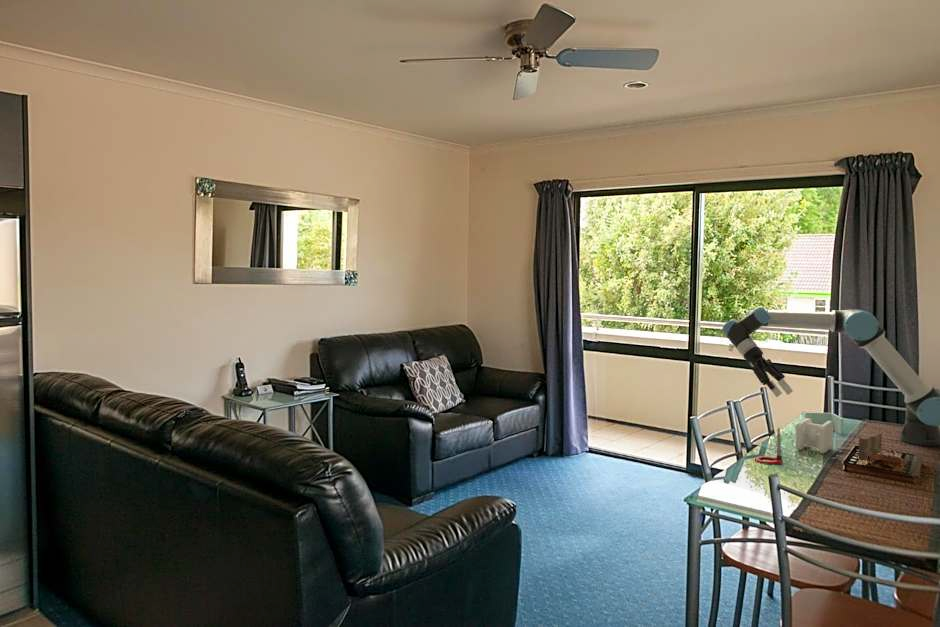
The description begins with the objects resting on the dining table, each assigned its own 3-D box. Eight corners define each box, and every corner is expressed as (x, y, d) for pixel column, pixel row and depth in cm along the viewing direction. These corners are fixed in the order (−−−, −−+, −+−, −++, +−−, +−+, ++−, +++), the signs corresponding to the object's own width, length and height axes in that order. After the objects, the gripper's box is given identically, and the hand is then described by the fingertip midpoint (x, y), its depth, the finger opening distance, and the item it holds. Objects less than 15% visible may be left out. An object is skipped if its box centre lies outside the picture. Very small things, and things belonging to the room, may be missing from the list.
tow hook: (756, 464, 254) (783, 465, 251) (755, 430, 253) (782, 430, 251) (753, 458, 262) (779, 459, 259) (752, 425, 261) (779, 425, 259)
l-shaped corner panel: (804, 428, 312) (805, 412, 312) (832, 429, 311) (833, 413, 310) (813, 434, 300) (814, 417, 300) (842, 435, 299) (843, 418, 298)
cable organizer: (822, 456, 264) (824, 426, 263) (793, 451, 271) (794, 422, 270) (833, 448, 275) (834, 420, 274) (804, 444, 282) (806, 416, 281)
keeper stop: (845, 452, 270) (846, 427, 269) (880, 460, 260) (881, 433, 259) (827, 458, 262) (828, 432, 261) (863, 466, 251) (865, 439, 250)
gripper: (757, 354, 302) (791, 396, 290) (730, 358, 289) (764, 402, 278) (769, 344, 297) (804, 386, 285) (742, 347, 285) (777, 391, 273)
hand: (784, 393), depth 282 cm, fingers open, 8 cm apart
